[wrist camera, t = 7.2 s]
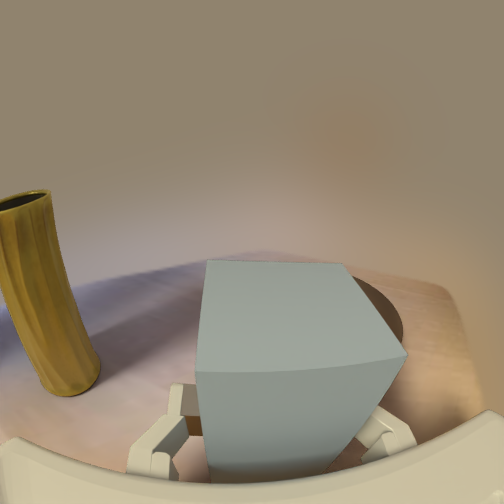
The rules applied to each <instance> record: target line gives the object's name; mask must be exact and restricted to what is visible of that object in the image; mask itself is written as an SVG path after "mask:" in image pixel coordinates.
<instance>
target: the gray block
mask: <svg viewBox="0 0 504 504" xmlns="http://www.w3.org/2000/svg"><path fill="white" fill-rule="evenodd" d="M407 356H408V354H407V353H406V351H405V350H404V348H403V347H402V345H401V344H400V342H399V341H398V339H397V338H396V336H395V335H394V334H393V332H392V331H391V329H390V328H389V326H388V325H387V324H386V322H385V321H384V319H383V318H382V316H381V315H380V314H379V312H378V311H377V310H376V308H375V307H374V305H373V304H372V303H371V301H370V300H369V299H368V297H367V296H366V295H365V293H364V292H363V291H362V289H361V288H360V287H359V285H358V284H357V283H356V281H355V280H354V279H353V277H352V276H351V275H350V273H349V272H348V271H347V270H346V268H345V267H344V266H343V264H342V263H305V262H266V261H231V260H207V264H206V272H205V279H204V287H203V296H202V304H201V313H200V322H199V331H198V341H197V351H196V362H195V379H196V387H197V396H198V404H199V411H200V418H201V425H202V432H203V439H204V445H205V451H206V457H207V462H208V468H209V473H210V478H211V483H215V484H238V483H260V482H272V481H282V480H291V479H298V478H304V477H311V476H316V475H321V474H322V473H323V472H324V471H325V470H326V469H327V468H328V467H329V465H330V464H331V463H332V462H333V461H334V460H335V459H336V458H337V457H338V455H339V454H340V453H341V452H342V451H343V450H344V448H345V447H346V446H347V445H348V444H349V442H350V441H351V440H352V439H353V437H354V436H355V435H356V434H357V432H358V431H359V430H360V428H361V427H362V426H363V424H364V423H365V422H366V420H367V419H368V418H369V416H370V415H371V414H372V412H373V411H374V409H375V408H376V406H377V405H378V404H379V402H380V401H381V399H382V398H383V396H384V395H385V393H386V391H387V390H388V388H389V387H390V385H391V384H392V382H393V380H394V379H395V377H396V375H397V374H398V372H399V370H400V369H401V367H402V365H403V364H404V362H405V360H406V358H407Z"/></svg>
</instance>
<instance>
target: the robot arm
mask: <svg viewBox="0 0 504 504" xmlns="http://www.w3.org/2000/svg"><path fill="white" fill-rule="evenodd" d="M189 436H203V432H202V425H201V418H200V411H199V404H198V396H197V387H196V385H193V384H180V383H172V385H171V390H170V396H169V403H168V411H167V414H163V415H162V416H161V417H160V418H159V419H158V420H157V421H156V422H155V423H154V424H153V425H152V426H151V427H150V428H149V429H148V430H147V431H146V432H145V433H144V434H143V435H142V436H141V437H140V438H139V439H138V440H137V441H136V442H135V443H134V444H133V445H132V446H131V447H130V451H129V457H128V463H127V469H126V473H123V472H118V471H114V470H110V469H106V468H102V467H98V466H95V465H91V464H88V463H85V462H82V461H78V460H75V459H72V458H70V457H67V456H64V455H61V454H59V453H56V452H53V451H51V450H48V449H46V448H44V447H41V446H39V445H37V444H35V443H32V442H30V441H28V440H26V439H24V438H21V437H14V438H12V439H10V440H8V441H6V442H4V443H3V444H1V445H0V504H504V417H503V416H501V415H500V414H498V413H496V412H494V411H492V410H485V411H483V412H481V413H480V414H478V415H476V416H475V417H473V418H471V419H470V420H468V421H466V422H464V423H463V424H461V425H459V426H457V427H455V428H453V429H451V430H450V431H448V432H446V433H444V434H442V435H440V436H437V437H435V438H433V439H431V440H429V441H427V442H424V443H422V444H420V445H418V444H417V442H416V440H415V438H414V436H413V434H412V432H411V430H410V428H409V426H408V425H407V424H406V423H404V422H403V421H401V420H400V419H398V418H397V417H395V416H394V415H392V414H390V413H389V412H387V411H386V410H384V409H383V408H382V407H380V406H379V405H377V406H376V408H375V409H374V411H373V412H372V414H371V415H370V416H369V418H368V419H367V420H366V422H365V423H364V424H363V426H362V427H361V428H360V430H359V431H358V432H357V434H356V435H355V436H354V437H355V438H356V439H357V440H359V441H360V442H361V443H362V444H363V445H364V446H365V447H366V448H368V450H367V451H366V452H365V454H364V455H363V456H362V457H361V461H362V464H363V465H360V466H356V467H352V468H348V469H344V470H340V471H336V472H331V473H327V474H322V475H316V476H311V477H304V478H298V479H291V480H282V481H272V482H260V483H238V484H215V483H193V482H181V481H179V474H178V472H177V470H176V468H175V466H174V464H173V461H172V458H173V457H174V456H175V454H176V453H177V452H178V451H179V449H180V448H181V447H182V445H183V444H184V443H185V442H186V440H187V439H188V438H189Z"/></svg>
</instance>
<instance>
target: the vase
mask: <svg viewBox="0 0 504 504" xmlns="http://www.w3.org/2000/svg"><path fill="white" fill-rule="evenodd" d="M0 288H1V291H2V294H3V297H4V300H5V303H6V306H7V308H8V311H9V313H10V316H11V318H12V321H13V323H14V326H15V329H16V331H17V333H18V336H19V338H20V340H21V343H22V345H23V347H24V349H25V351H26V353H27V355H28V357H29V359H30V361H31V363H32V365H33V367H34V369H35V370H36V372H37V374H38V376H39V378H40V381H41V384H42V385H43V386H44V388H45V389H46V390H48V391H49V392H51V393H52V394H55V395H58V396H74V395H77V394H80V393H82V392H84V391H85V390H87V389H88V388H89V387H91V386H92V384H93V383H94V382H95V380H96V379H97V377H98V375H99V372H100V360H99V358H98V356H97V354H96V353H95V351H94V350H93V348H92V345H91V343H90V340H89V337H88V335H87V332H86V330H85V327H84V325H83V322H82V320H81V317H80V314H79V311H78V308H77V305H76V302H75V299H74V297H73V294H72V291H71V288H70V285H69V282H68V278H67V274H66V271H65V267H64V263H63V259H62V256H61V251H60V247H59V243H58V237H57V232H56V227H55V220H54V213H53V207H52V199H51V191H50V190H44V189H42V190H32V191H27V192H23V193H19V194H15V195H12V196H9V197H6V198H4V199H1V200H0Z"/></svg>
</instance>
